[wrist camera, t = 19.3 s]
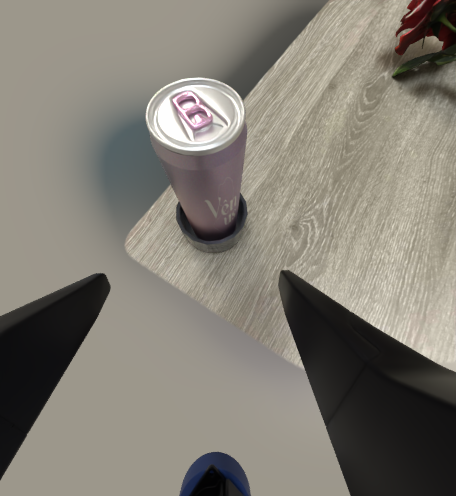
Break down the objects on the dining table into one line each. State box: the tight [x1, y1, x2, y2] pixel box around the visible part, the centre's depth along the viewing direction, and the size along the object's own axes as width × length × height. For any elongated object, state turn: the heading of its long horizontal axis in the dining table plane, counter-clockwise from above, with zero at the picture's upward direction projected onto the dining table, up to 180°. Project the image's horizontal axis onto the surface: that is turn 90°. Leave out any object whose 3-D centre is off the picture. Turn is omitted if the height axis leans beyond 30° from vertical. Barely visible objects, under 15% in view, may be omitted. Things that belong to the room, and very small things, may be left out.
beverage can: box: [146, 78, 247, 241], centre depth 17 cm, size 6×6×15 cm
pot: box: [176, 193, 248, 253], centre depth 23 cm, size 8×8×4 cm
